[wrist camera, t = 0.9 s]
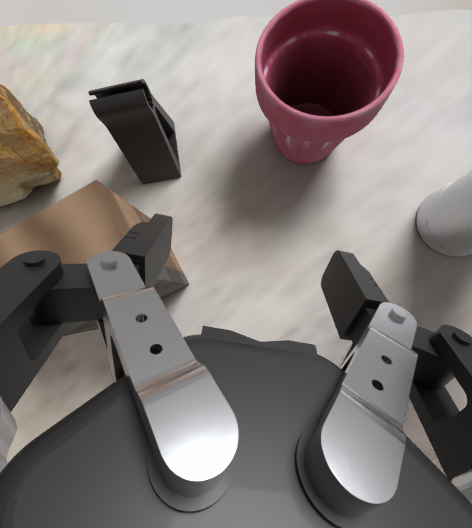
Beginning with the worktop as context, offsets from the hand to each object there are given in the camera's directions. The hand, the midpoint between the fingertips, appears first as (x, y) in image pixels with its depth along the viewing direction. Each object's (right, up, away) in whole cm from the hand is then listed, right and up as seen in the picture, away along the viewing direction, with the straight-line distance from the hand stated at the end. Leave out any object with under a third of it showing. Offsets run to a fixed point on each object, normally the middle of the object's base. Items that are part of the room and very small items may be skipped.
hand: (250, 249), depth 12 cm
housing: (-15, -2, +24) cm, 28 cm away
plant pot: (+9, +18, +25) cm, 32 cm away
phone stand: (-12, +16, +27) cm, 33 cm away
